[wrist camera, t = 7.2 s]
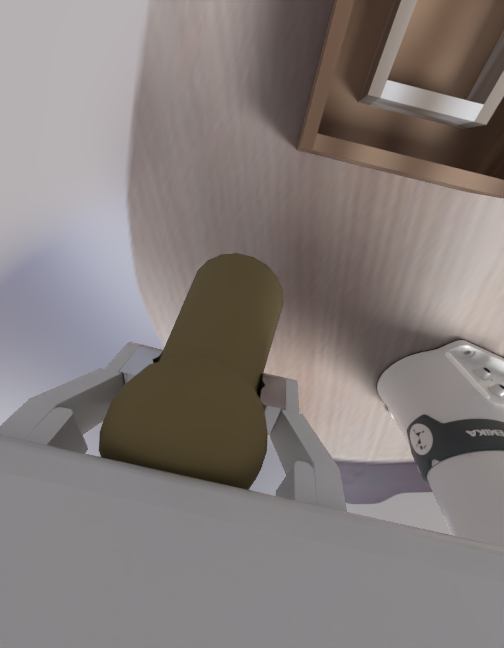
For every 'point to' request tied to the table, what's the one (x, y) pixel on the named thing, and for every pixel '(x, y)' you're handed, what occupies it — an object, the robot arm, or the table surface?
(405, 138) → the walled box
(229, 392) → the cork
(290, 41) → the table surface
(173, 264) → the table surface
